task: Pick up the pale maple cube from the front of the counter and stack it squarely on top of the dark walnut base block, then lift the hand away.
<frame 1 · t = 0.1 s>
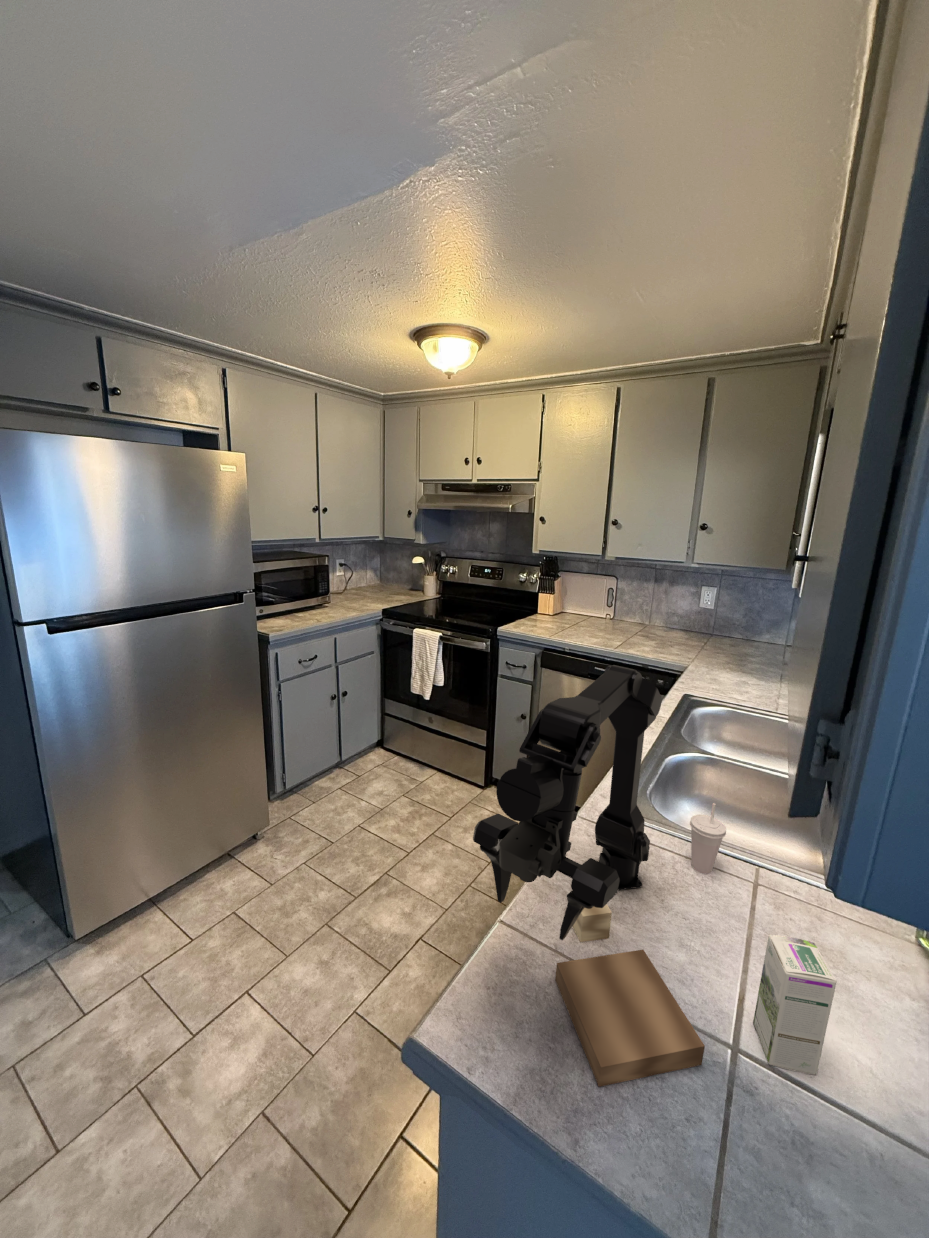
hand: (530, 919, 63), 15 cm above the worktop, tool pointing down, fingers open, 9 cm apart
maple cube: (587, 928, 81), on the worktop
smoothie: (701, 867, 97), on the worktop
syrup box: (782, 1049, 64), on the worktop
walnut base: (622, 1018, 67), on the worktop
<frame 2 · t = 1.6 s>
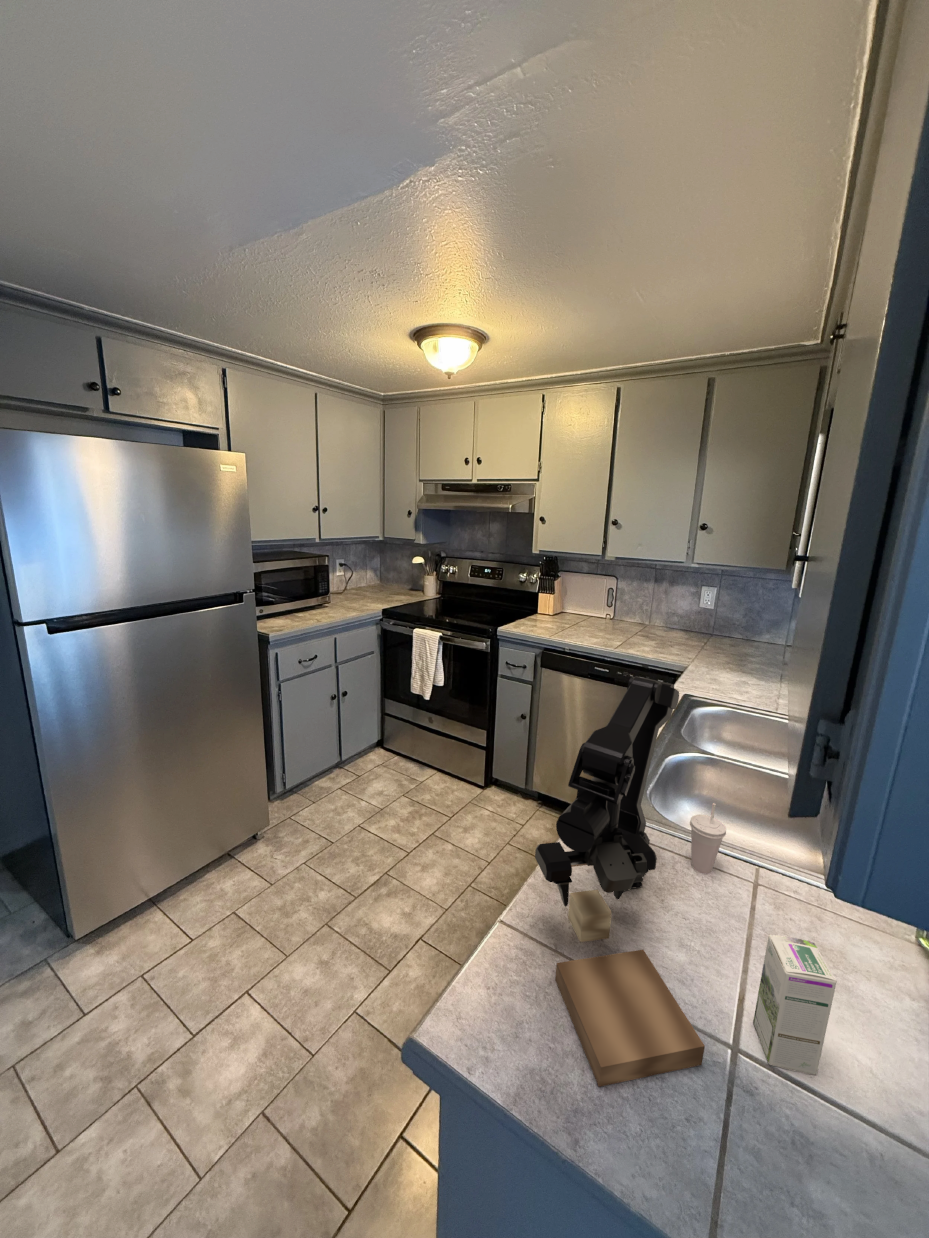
hand: (590, 900, 80), 5 cm above the worktop, tool pointing down, fingers open, 9 cm apart
nothing on the worktop moved.
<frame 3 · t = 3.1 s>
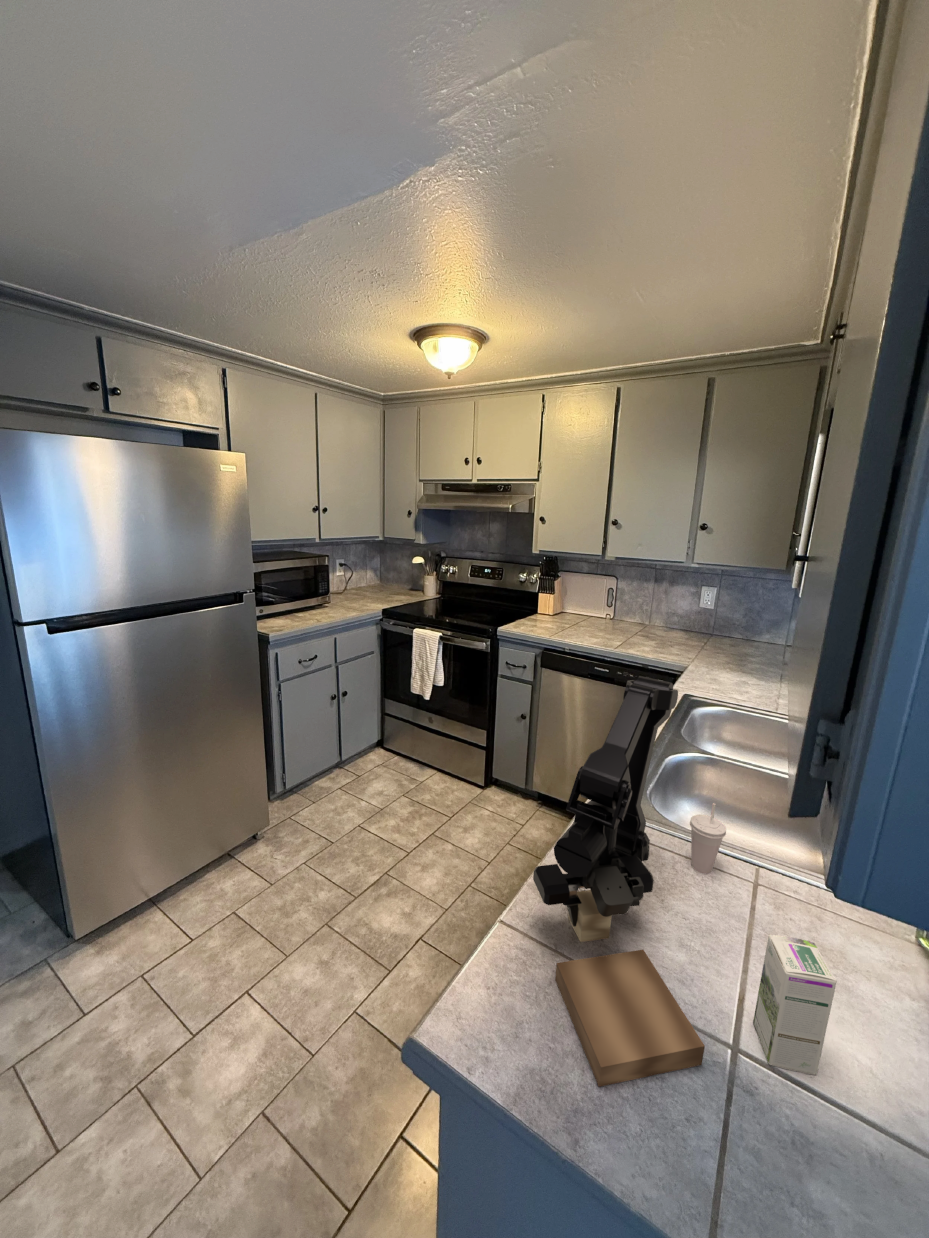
hand: (588, 922, 81), 1 cm above the worktop, tool pointing down, fingers closed on maple cube, 5 cm apart
maple cube: (588, 927, 81), on the worktop, touching gripper
everything else where it was.
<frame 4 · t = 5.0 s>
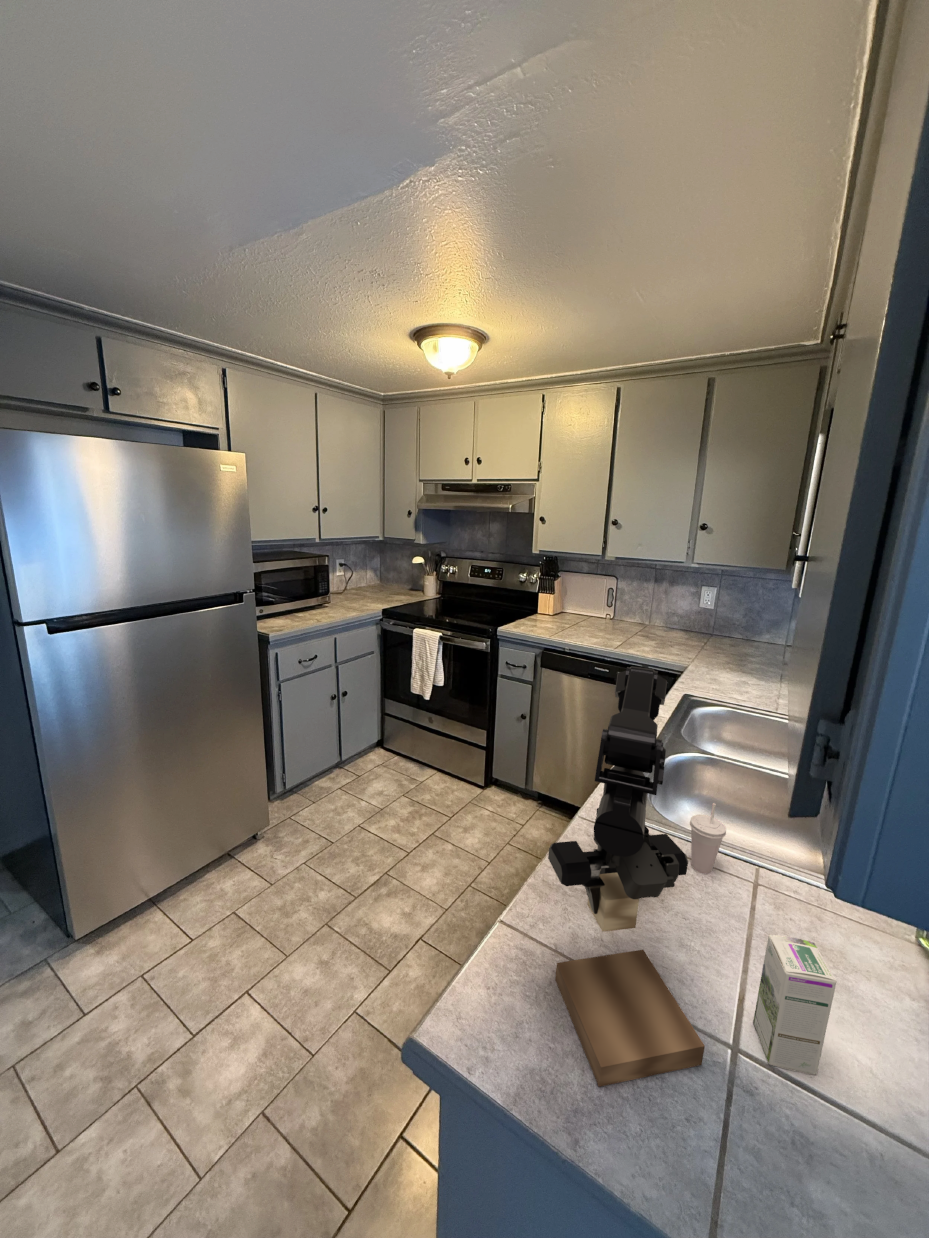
hand: (611, 909, 70), 12 cm above the worktop, tool pointing down, fingers closed on maple cube, 5 cm apart
maple cube: (610, 915, 71), point 11 cm above the worktop, touching gripper
everything else where it was.
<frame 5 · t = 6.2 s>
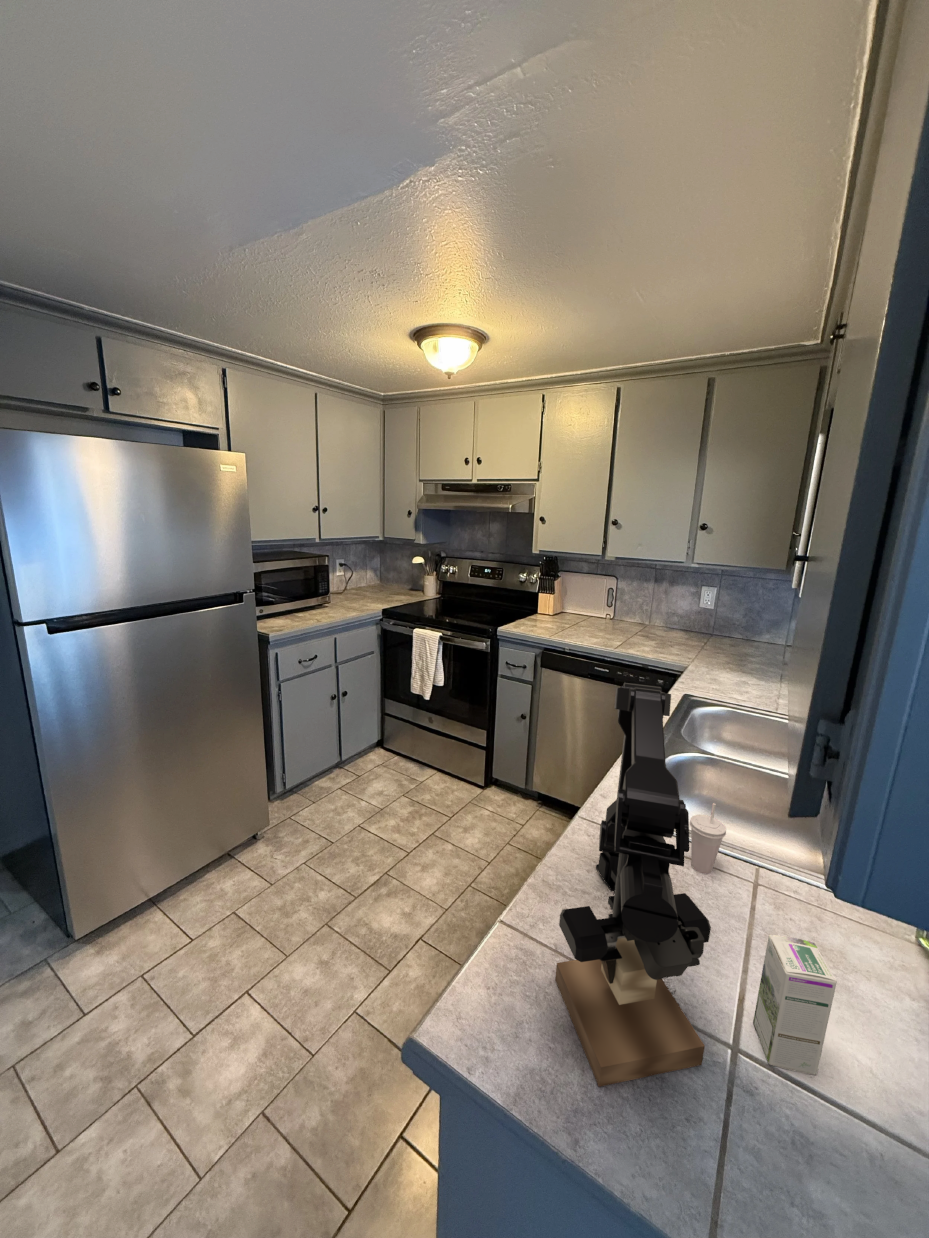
hand: (627, 977, 65), 7 cm above the worktop, tool pointing down, fingers closed on maple cube, 5 cm apart
maple cube: (626, 983, 65), point 6 cm above the worktop, touching gripper
everything else where it was.
when the fingers open (5 cm above the worktop, at t = 7.2 s): maple cube drops 1 cm, resting on walnut base.
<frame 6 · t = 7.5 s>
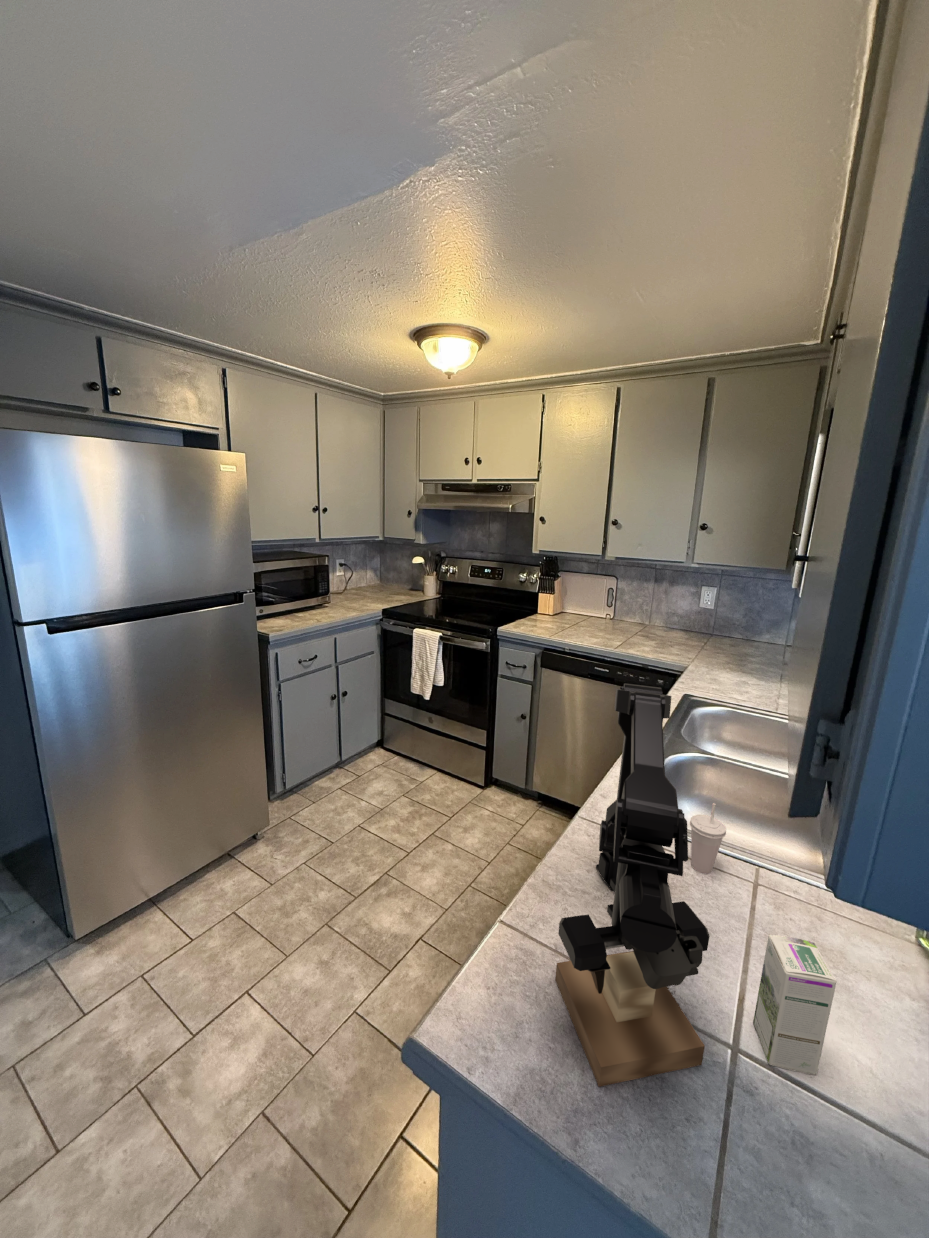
hand: (626, 985, 65), 5 cm above the worktop, tool pointing down, fingers open, 8 cm apart
maple cube: (624, 1000, 66), point 3 cm above the worktop, touching walnut base
everything else where it was.
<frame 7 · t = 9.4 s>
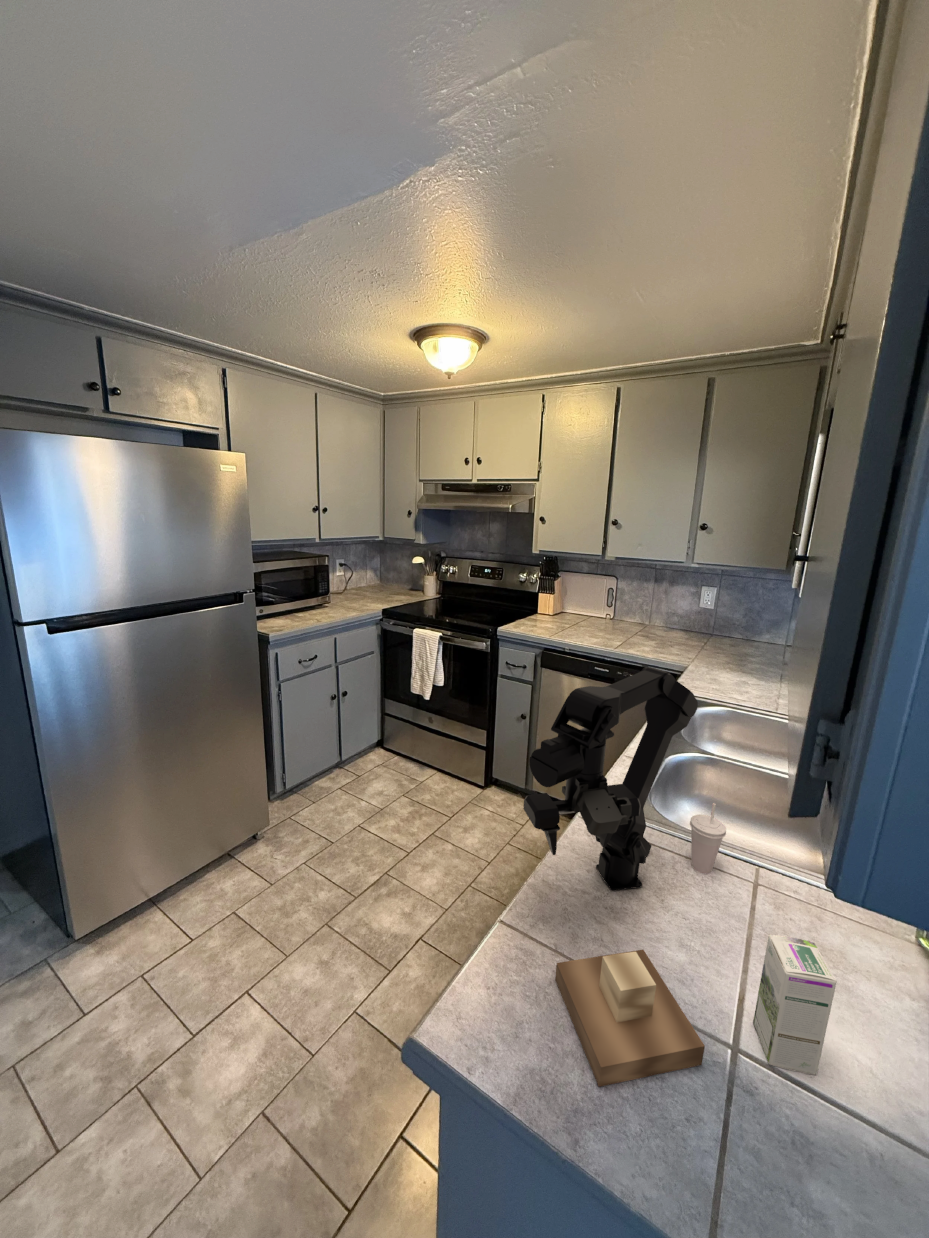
hand: (578, 849, 83), 12 cm above the worktop, tool pointing down, fingers open, 9 cm apart
nothing on the worktop moved.
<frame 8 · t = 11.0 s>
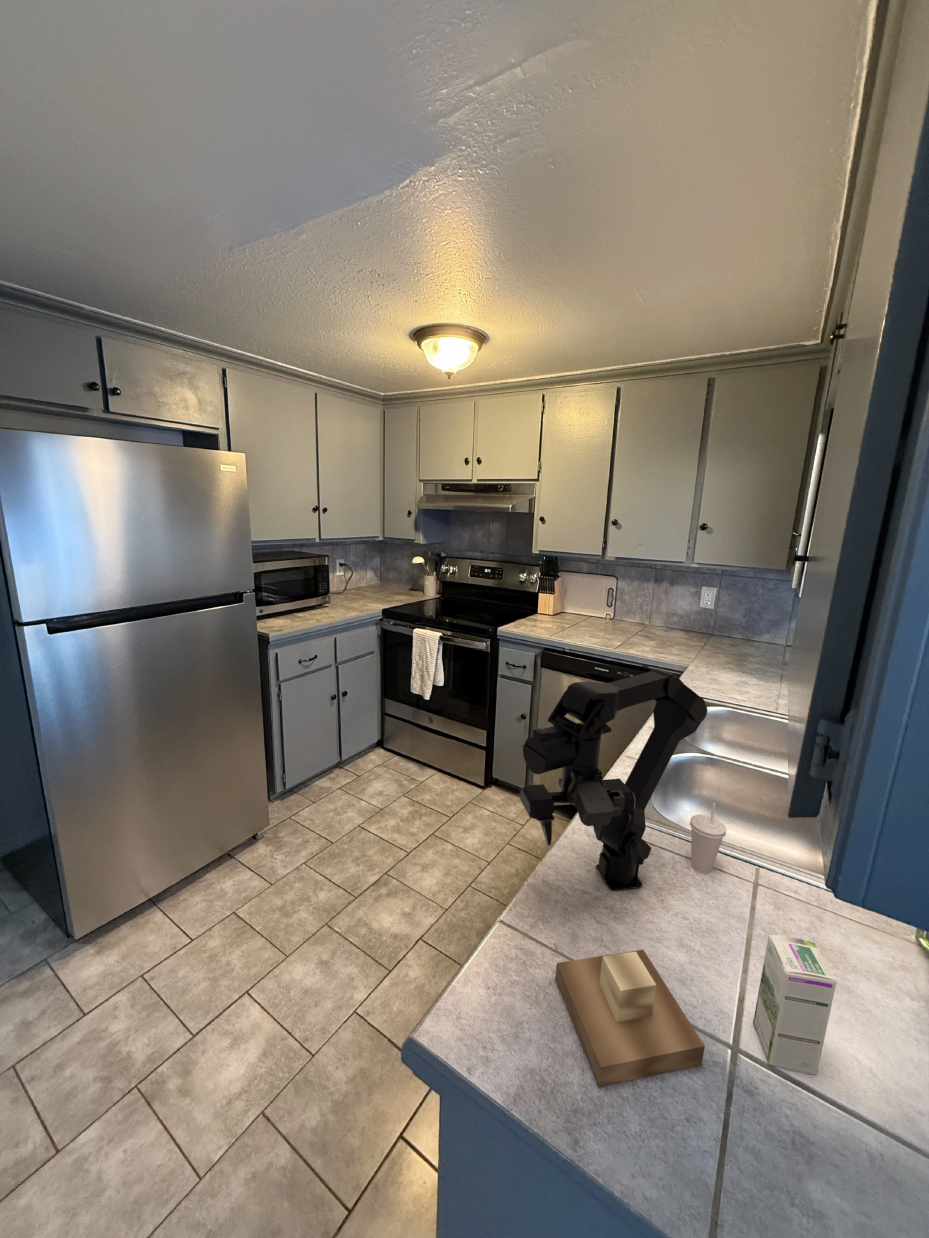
hand: (573, 841, 84), 12 cm above the worktop, tool pointing down, fingers open, 9 cm apart
nothing on the worktop moved.
at the end: maple cube inside the target area on the walnut base (0.0 cm from its centre), point 3.0 cm above the walnut base's base; maple cube tilted 0°; the gripper is holding nothing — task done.
